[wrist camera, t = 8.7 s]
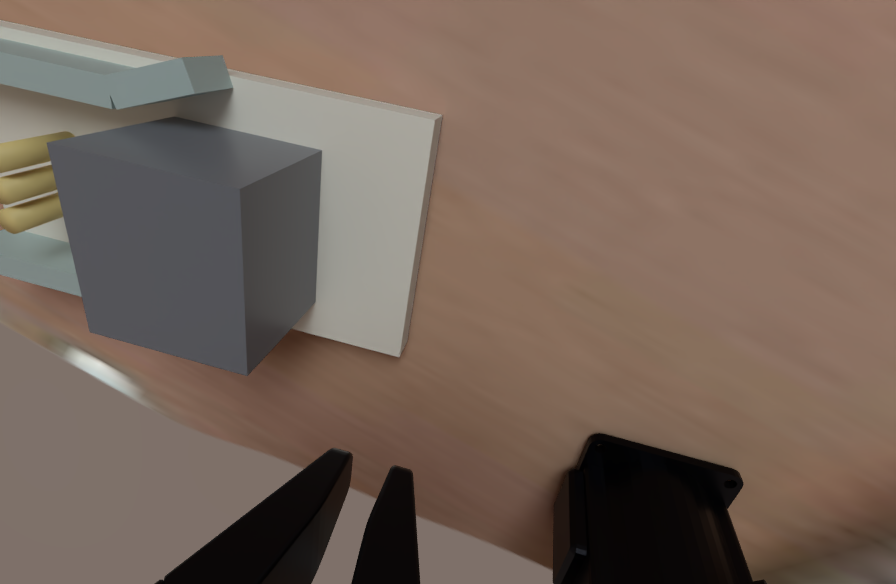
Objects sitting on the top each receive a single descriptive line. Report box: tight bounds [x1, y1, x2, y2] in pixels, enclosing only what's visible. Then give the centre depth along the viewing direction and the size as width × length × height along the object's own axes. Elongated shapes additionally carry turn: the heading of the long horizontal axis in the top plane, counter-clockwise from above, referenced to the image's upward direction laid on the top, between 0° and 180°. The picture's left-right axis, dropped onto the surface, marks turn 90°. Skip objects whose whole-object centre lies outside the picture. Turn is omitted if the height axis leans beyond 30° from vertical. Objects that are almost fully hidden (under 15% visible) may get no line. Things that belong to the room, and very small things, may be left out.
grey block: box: [47, 116, 322, 376], centre depth 16 cm, size 6×6×5 cm
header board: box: [0, 20, 443, 357], centre depth 18 cm, size 18×11×4 cm, turn 81°
